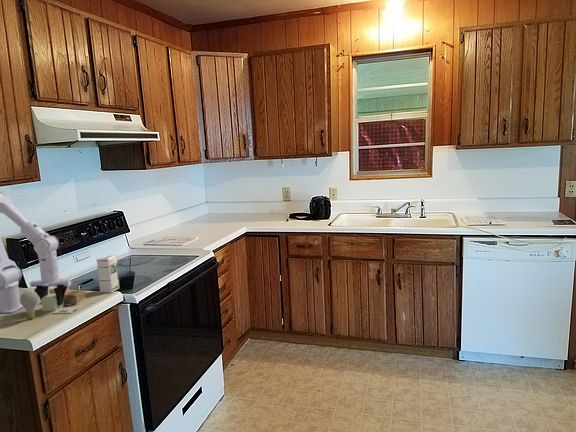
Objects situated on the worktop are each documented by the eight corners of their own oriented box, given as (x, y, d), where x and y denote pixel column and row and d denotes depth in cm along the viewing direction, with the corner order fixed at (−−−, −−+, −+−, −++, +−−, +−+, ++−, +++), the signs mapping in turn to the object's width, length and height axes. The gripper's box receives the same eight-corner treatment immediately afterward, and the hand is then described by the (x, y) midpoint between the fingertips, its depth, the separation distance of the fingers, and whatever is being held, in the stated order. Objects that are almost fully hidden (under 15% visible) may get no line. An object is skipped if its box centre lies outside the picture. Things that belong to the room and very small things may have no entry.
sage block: (42, 311, 154) (41, 298, 153) (51, 306, 159) (49, 293, 158) (56, 310, 153) (54, 297, 153) (63, 306, 158) (62, 293, 158)
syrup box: (112, 292, 174) (109, 258, 172) (99, 292, 175) (96, 258, 173) (120, 288, 180) (117, 255, 178) (107, 288, 181) (104, 255, 179)
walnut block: (62, 305, 160) (61, 295, 160) (71, 300, 166) (70, 290, 166) (77, 305, 160) (76, 295, 159) (86, 300, 165) (85, 290, 165)
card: (52, 313, 150) (52, 312, 150) (60, 309, 155) (60, 307, 155) (71, 313, 150) (71, 312, 150) (78, 308, 155) (78, 307, 155)
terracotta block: (50, 301, 165) (49, 289, 164) (57, 297, 170) (56, 285, 169) (62, 301, 164) (61, 289, 164) (69, 297, 169) (68, 285, 169)
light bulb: (18, 321, 144) (14, 293, 143) (30, 315, 149) (27, 288, 148) (32, 321, 143) (29, 293, 142) (44, 316, 148) (41, 288, 147)
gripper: (22, 272, 151) (27, 309, 152) (62, 271, 150) (65, 308, 151) (35, 267, 158) (39, 302, 159) (72, 266, 157) (76, 301, 158)
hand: (53, 305), depth 156 cm, fingers closed on sage block, 5 cm apart
